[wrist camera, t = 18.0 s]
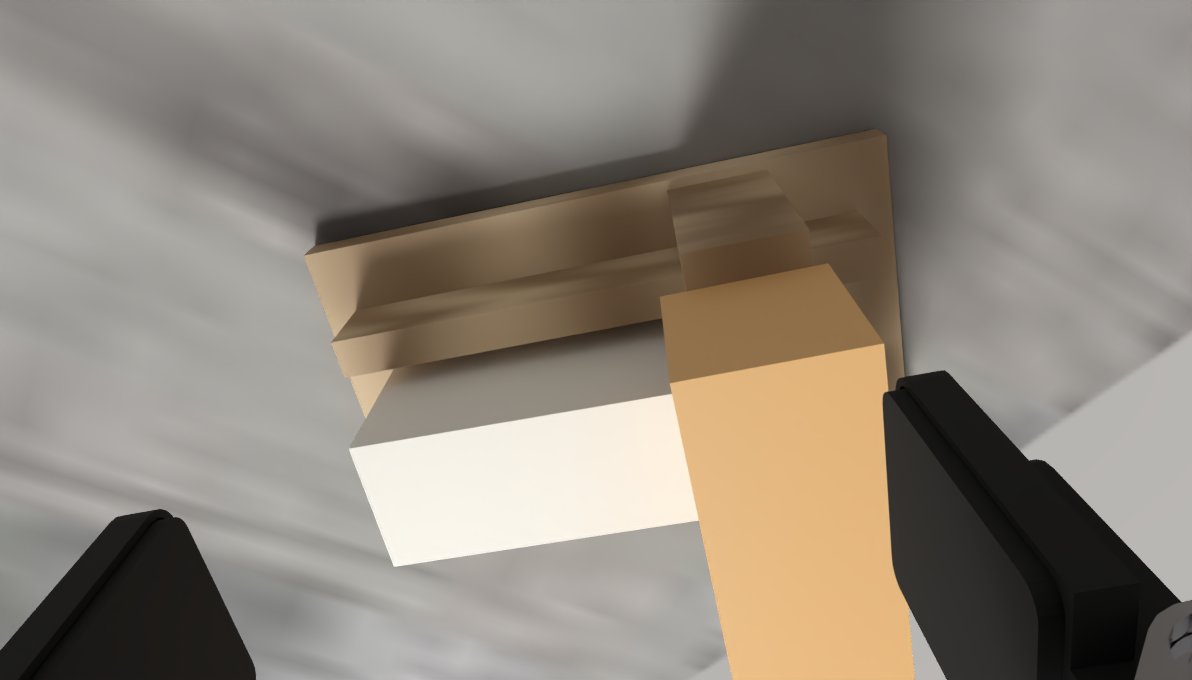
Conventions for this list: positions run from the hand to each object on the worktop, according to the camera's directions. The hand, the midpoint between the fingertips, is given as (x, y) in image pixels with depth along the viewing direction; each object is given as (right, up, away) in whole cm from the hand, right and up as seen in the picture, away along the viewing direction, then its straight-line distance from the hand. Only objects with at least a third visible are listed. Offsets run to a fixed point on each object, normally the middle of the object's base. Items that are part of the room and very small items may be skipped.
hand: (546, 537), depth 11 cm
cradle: (+2, +2, +17) cm, 18 cm away
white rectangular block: (+2, +2, +16) cm, 17 cm away
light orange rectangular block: (+5, 0, +11) cm, 12 cm away
